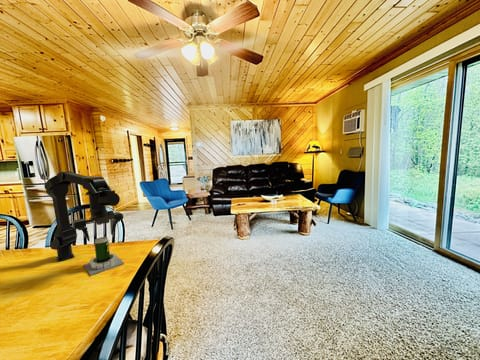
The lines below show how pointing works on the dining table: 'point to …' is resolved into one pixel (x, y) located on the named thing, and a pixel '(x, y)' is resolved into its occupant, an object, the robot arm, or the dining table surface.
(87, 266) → the socket plate
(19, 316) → the dining table surface
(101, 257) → the beer can
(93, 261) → the metal collar
